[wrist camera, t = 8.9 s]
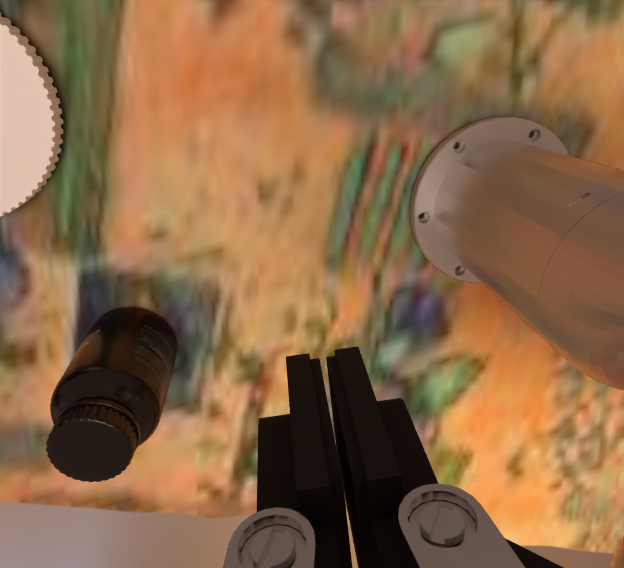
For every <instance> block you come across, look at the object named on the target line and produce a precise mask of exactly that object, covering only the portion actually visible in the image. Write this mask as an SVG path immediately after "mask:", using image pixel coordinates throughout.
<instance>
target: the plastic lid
mask: <svg viewBox="0 0 624 568" xmlns="http://www.w3.org/2000/svg"><path fill="white" fill-rule="evenodd" d="M28 41H29V40H28V39H27V37H26V36H22V35H21V34H20V30H19V29H18V28H17V27H13V26H12V25H11V21H10V20H9V19H8V18H4V17H1V12H0V217H1V216H3V215H5V214H6V213H9V212H11V211H13V210H14V209H16V208H18V207H19V206H21V205H22V204H24V203H26V202H27V201H29V199H31V198H32V197H34V196H35V193H37V192H39V191H40V190H41V189H42V188H41V187H42V186H44V185H45V184H46V183H47V181H46V179H48V178H50V177H51V175H52V174H51V173H50V172H51V171H53V170H55V168H56V166H55V165H54V163H56V162H58V160H59V157H58V156H57V154H58V153H61V148H60V147H59V145H60V144H62V143H63V139H61V134H63V129H61V124H63V119H61V118H60V114H62V109H60V108H59V106H58V104H59V103H60V99H59V98H57V97H56V93H57V89H56V88H54V87H53V85H52V83H53V82H54V81H53V79H52V77H49V76H48V74H47V72H49V70H48V68H47V67H44V66H43V64H42V61H43V59H42V58H41V56H37V55H36V53H35V52H36V49H35V47H34V46H30V45H29V44H28Z"/></svg>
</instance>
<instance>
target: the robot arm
mask: <svg viewBox="0 0 624 568" xmlns="http://www.w3.org/2000/svg"><path fill="white" fill-rule="evenodd" d="M530 132H531V135H530V136H529V133H530ZM456 142H457V143H458V146H457V147H456V148H453V147H454V144H455V143H456ZM422 212H423V216H422V217H420V218H418V216H419V215H420V213H422ZM410 222H411V227H412V232H413V236H414V238H415V240H416V243H417V245H418V247H419V249H420V250H421V252H422V253H423V254H424V256H425V257H426V259H427V260H428V261H429V262H431V263H432V265H433V266H434V267H435V268H437V269H438V270H440V271H441V272H442V273H444V274H445V275H447V276H449V277H452V278H454V279H456V280H460V281H465V282H470V283H483V284H484V285H485V286H486V287H487V288H489V289H490V290H491V291H492V292H493V293H494V294H495V295H496V296H497V297H498V298H499V299H500V300H502V301H503V302H504V303H505V304H506V305H507V306H508V307H509V308H510V309H511V310H512V311H514V312H515V313H516V314H517V315H518V316H519V317H520V318H521V319H522V320H523V321H524V322H525V323H527V324H528V325H529V326H530V327H531V328H532V329H533V330H534V331H535V332H536V333H537V334H539V335H540V336H541V337H542V338H543V339H544V340H545V341H546V342H547V343H548V344H549V345H550V346H552V347H553V348H554V349H555V350H556V351H558V352H559V353H560V354H561V355H562V356H563V357H564V358H565V359H566V360H567V361H569V362H570V363H571V364H572V365H573V366H575V367H576V368H577V369H578V370H580V371H581V372H582V373H584V374H585V375H587V376H589V377H590V378H592V379H594V380H596V381H598V382H600V383H602V384H605V385H608V386H610V387H613V388H616V389H620V390H624V171H623V170H619V169H618V168H612V167H608V166H605V165H601V164H597V163H594V162H590V161H586V160H583V159H579V158H576V157H572V156H570V155H569V153H568V151H567V149H566V147H565V146H564V144H563V143H562V142H561V141H560V140H559V138H558V137H557V136H556V135H555V134H554V133H552V132H551V131H550V130H548V129H547V128H546V127H544V126H543V125H540V124H538V123H535V122H533V121H531V120H527V119H522V118H518V117H504V116H499V117H492V118H485V119H482V120H479V121H476V122H473V123H471V124H468V125H466V126H464V127H463V128H461V129H459V130H457V131H456V132H454V133H452V134H451V135H450V136H449V137H448V138H446V139H445V140H444V141H443V142H442V143H440V144H439V145H438V147H437V148H436V149H435V150H434V151H433V152H432V154H431V155H430V156H429V157H428V159H427V160H426V162H425V164H424V165H423V167H422V169H421V170H420V172H419V174H418V177H417V179H416V182H415V185H414V187H413V191H412V197H411V202H410ZM458 266H459V267H458ZM457 267H458V268H457ZM456 268H457V269H456ZM286 365H287V378H288V391H289V405H290V414H286V415H280V416H273V417H266V418H259V423H258V474H257V513H255V514H252V515H251V516H250V517H248V518H247V519H246V520H244V521H243V522H242V523H241V524H240V525H239V526H238V528H237V529H236V530H235V531H234V533H233V535H232V537H231V540H230V542H229V544H228V548H227V553H226V557H225V561H224V565H223V568H352V562H351V552H350V543H349V533H348V524H347V515H346V506H345V499H346V504H347V510H348V515H349V520H350V526H351V531H352V536H353V542H354V547H355V552H356V557H357V563H358V568H563V567H561V566H559V565H557V564H555V563H553V562H551V561H549V560H547V559H545V558H543V557H541V556H539V555H537V554H535V553H533V552H531V551H529V550H527V549H525V548H523V547H521V546H519V545H517V544H515V543H513V542H511V541H509V540H507V539H505V538H504V537H503V535H502V534H501V532H500V531H499V530H498V528H497V527H496V525H495V524H494V522H493V521H492V520H491V518H490V517H489V515H488V514H487V512H486V511H485V510H484V508H483V507H482V505H481V504H480V503H479V502H478V501H477V500H476V499H475V498H474V497H473V496H472V495H470V494H469V493H467V492H465V491H464V490H462V489H460V488H457V487H454V486H451V485H446V484H438V482H437V479H436V477H435V474H434V472H433V470H432V467H431V465H430V463H429V460H428V458H427V455H426V453H425V451H424V448H423V446H422V443H421V441H420V439H419V436H418V434H417V432H416V429H415V427H414V424H413V422H412V420H411V417H410V415H409V413H408V410H407V408H406V405H405V403H404V401H403V399H401V398H397V399H390V400H384V401H377V400H376V397H375V394H374V392H373V389H372V386H371V383H370V380H369V377H368V374H367V371H366V368H365V365H364V362H363V359H362V356H361V353H360V350H359V348H358V347H351V348H344V349H337V350H335V356H332V357H327V368H328V377H329V386H330V395H331V404H332V413H333V422H334V431H335V439H336V444H335V439H334V434H333V428H332V423H331V418H330V413H329V407H328V402H327V397H326V391H325V386H324V381H323V376H322V370H321V365H320V360H319V358H318V359H310V356H309V353H308V354H301V355H294V356H287V357H286ZM336 448H337V449H336ZM343 489H344V490H343ZM344 494H345V497H344ZM610 568H624V536H623V538H622V540H621V542H620V545H619V547H618V549H617V551H616V554H615V556H614V559H613V561H612V564H611V567H610Z"/></svg>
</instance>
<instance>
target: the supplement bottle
mask: <svg viewBox="0 0 624 568" xmlns="http://www.w3.org/2000/svg"><path fill="white" fill-rule="evenodd" d="M176 353H177V346H176V340H175V337H174V335H173V333H172V331H171V329H170V328H169V327H168V326H167V324H166V323H165V322H163V321H162V320H161V319H160V318H158V317H157V316H155V315H153V314H151V313H149V312H146V311H142V310H137V309H121V310H116V311H113V312H110V313H108V314H106V315H104V316H103V317H101V318H100V319H99V320H98V321H97V322H96V323H95V324H94V325H93V326H92V328H91V329H90V331H89V333H88V334H87V336H86V337H85V339H84V341H83V342H82V344H81V346H80V347H79V349H78V351H77V352H76V354H75V356H74V357H73V359H72V361H71V362H70V364H69V366H68V367H67V369H66V371H65V373H64V374H63V376H62V378H61V379H60V381H59V383H58V384H57V386H56V388H55V390H54V392H53V395H52V398H51V404H50V411H51V417H52V420H53V423H54V426H53V429H52V431H51V433H50V434H49V438H48V440H47V443H46V444H47V448H46V451H47V452H48V457H49V458H50V462H51V463H52V464H53V465H54V467H55V468H56V469H58V470H59V471H60V472H61V473H63V474H65V475H66V476H67V477H72V478H73V479H75V480H81V481H88V482H94V481H96V482H100V481H102V480H108V479H110V478H114V477H115V476H116V475H119V474H121V472H122V471H124V470H125V469H126V468H127V466H128V465H129V464H130V462H131V459H132V458H133V455H134V452H135V450H136V448H137V447H138V446H140V445H141V444H143V443H144V442H145V441H146V440H147V439H148V438H150V437H151V435H152V434H153V433H154V431H155V430H156V428H157V426H158V424H159V421H160V418H161V415H162V411H163V407H164V403H165V399H166V395H167V391H168V387H169V383H170V379H171V375H172V371H173V367H174V363H175V359H176Z"/></svg>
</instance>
